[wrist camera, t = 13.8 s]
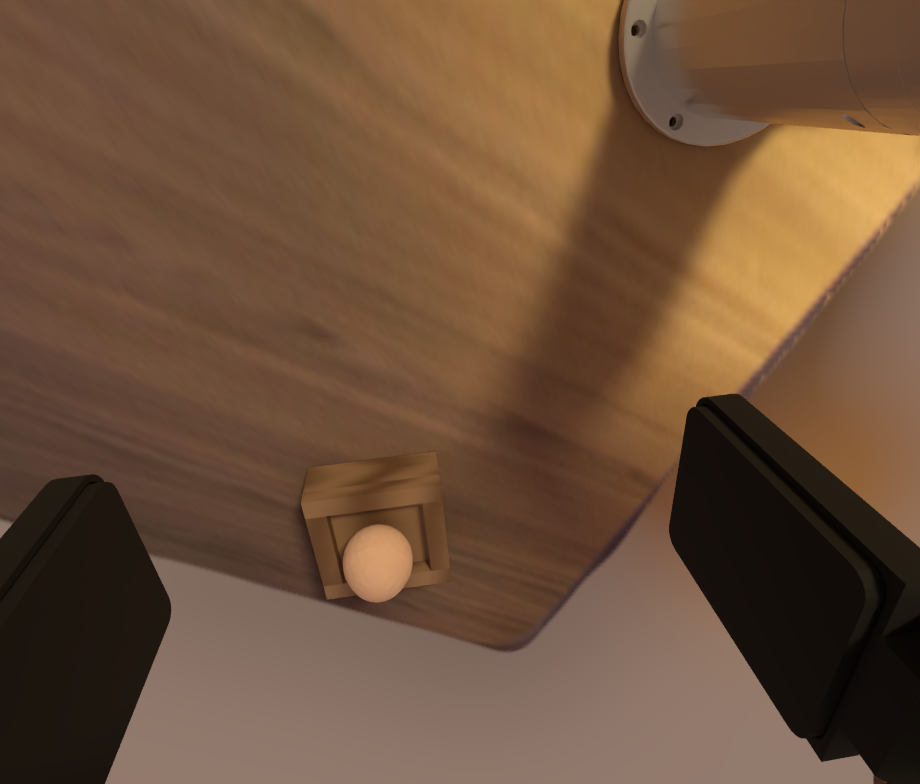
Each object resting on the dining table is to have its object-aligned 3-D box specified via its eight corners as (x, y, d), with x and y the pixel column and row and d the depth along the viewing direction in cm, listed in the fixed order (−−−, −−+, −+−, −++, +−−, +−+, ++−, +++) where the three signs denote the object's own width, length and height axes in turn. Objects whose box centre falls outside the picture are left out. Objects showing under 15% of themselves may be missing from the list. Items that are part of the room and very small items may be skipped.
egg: (389, 498, 41) (390, 557, 36) (422, 540, 44) (428, 600, 38) (331, 528, 42) (324, 589, 37) (367, 567, 44) (366, 630, 39)
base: (435, 451, 43) (440, 484, 40) (446, 544, 48) (451, 581, 44) (307, 467, 42) (300, 503, 39) (331, 560, 47) (327, 599, 44)
